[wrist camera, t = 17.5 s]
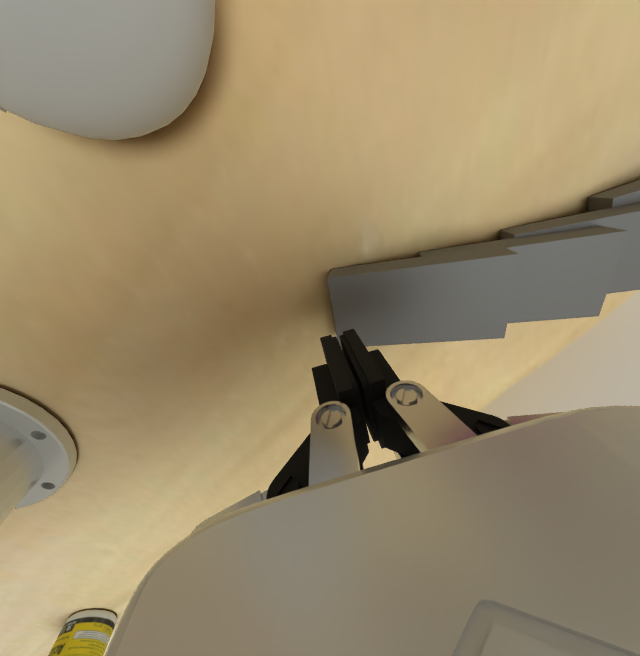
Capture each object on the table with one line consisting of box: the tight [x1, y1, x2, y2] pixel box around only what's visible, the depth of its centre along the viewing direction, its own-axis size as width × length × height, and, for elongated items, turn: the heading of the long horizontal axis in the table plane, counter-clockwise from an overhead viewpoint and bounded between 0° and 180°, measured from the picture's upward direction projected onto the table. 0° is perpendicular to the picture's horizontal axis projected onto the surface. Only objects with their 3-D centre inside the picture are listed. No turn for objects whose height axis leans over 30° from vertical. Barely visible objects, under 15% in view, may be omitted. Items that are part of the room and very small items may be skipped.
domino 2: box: [419, 225, 628, 323], centre depth 16 cm, size 2×5×10 cm
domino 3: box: [500, 202, 640, 294], centre depth 17 cm, size 2×5×10 cm
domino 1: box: [327, 246, 519, 348], centre depth 16 cm, size 2×5×10 cm
